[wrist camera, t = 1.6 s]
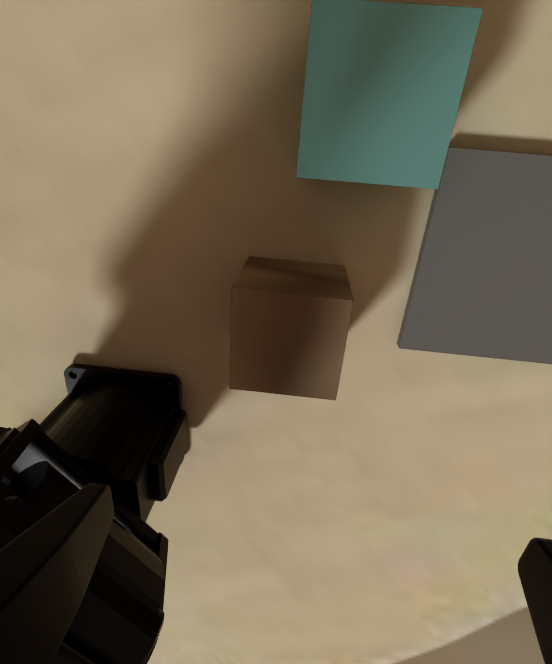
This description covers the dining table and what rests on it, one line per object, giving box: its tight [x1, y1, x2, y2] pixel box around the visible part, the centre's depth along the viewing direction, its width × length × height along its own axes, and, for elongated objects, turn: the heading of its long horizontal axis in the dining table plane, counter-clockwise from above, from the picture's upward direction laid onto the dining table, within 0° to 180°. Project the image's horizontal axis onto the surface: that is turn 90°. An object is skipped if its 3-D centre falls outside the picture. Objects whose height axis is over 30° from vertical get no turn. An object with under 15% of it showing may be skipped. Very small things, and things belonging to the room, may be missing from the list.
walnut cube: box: [229, 257, 354, 400], centre depth 17 cm, size 4×4×4 cm
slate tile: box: [397, 147, 552, 364], centre depth 17 cm, size 9×9×1 cm
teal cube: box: [296, 0, 483, 189], centre depth 13 cm, size 4×4×4 cm
